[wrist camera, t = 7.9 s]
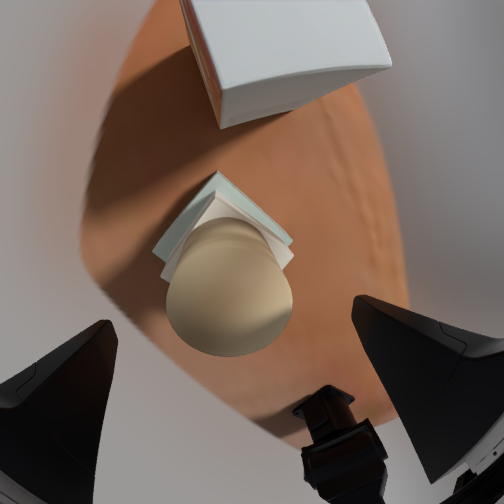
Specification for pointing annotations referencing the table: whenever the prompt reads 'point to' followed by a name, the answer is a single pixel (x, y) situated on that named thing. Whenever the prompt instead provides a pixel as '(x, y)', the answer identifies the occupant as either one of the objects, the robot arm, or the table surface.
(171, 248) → the sage base block
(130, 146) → the table surface
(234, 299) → the maple cylinder
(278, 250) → the cream top block
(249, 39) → the small box
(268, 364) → the table surface
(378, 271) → the table surface
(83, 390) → the robot arm
